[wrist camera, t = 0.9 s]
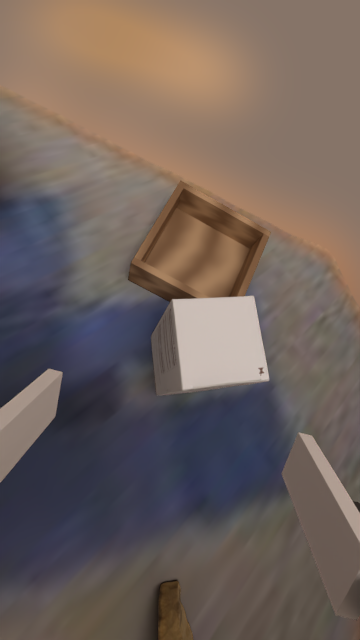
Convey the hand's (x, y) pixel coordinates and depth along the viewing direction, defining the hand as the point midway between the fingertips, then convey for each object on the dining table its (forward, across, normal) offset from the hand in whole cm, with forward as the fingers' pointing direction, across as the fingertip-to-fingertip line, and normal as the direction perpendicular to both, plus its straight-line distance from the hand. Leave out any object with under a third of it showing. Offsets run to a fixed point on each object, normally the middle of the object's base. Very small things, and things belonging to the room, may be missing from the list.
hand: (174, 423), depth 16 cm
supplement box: (+28, +1, -8) cm, 29 cm away
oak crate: (+37, -1, +7) cm, 37 cm away
